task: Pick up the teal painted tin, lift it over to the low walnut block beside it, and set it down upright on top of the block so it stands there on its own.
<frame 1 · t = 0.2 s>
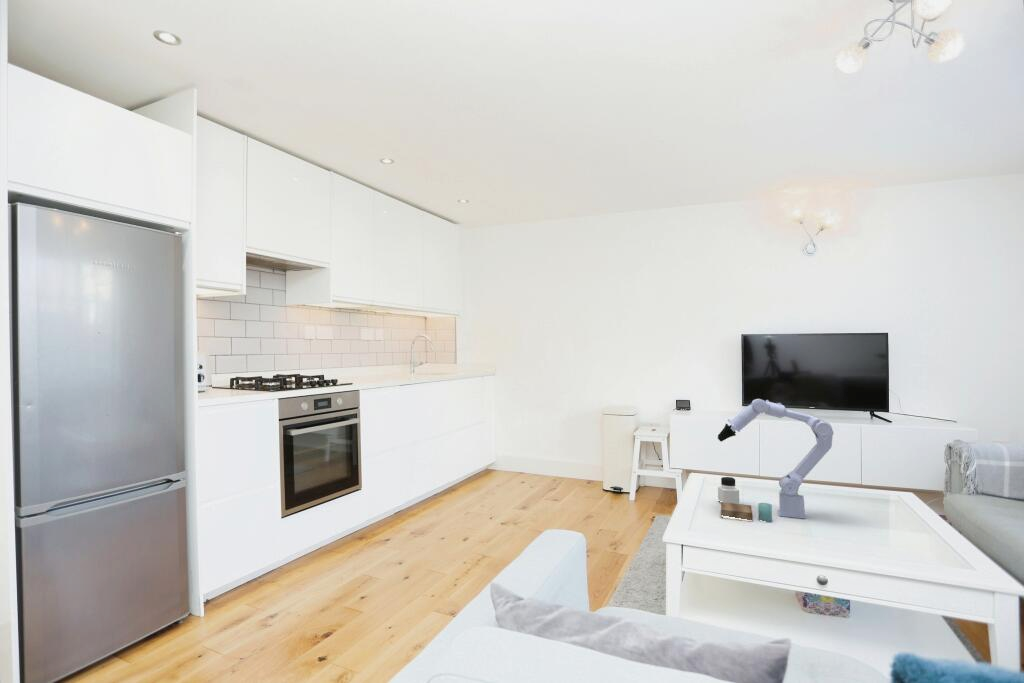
hand: (719, 438, 232), 31 cm above the table, tool tilted 45°, fingers open, 7 cm apart
walnut block: (736, 516, 220), on the table
medicine bottle: (728, 503, 239), on the table
teal tin: (765, 520, 214), on the table
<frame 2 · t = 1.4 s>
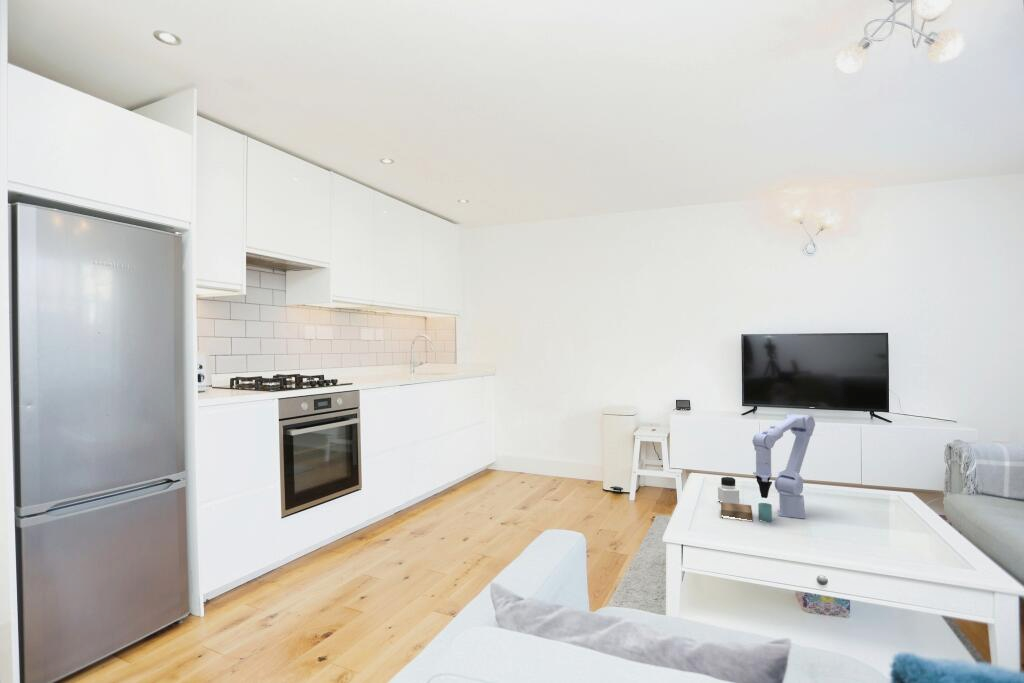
hand: (763, 495, 214), 10 cm above the table, tool pointing down, fingers open, 7 cm apart
nothing on the table moved.
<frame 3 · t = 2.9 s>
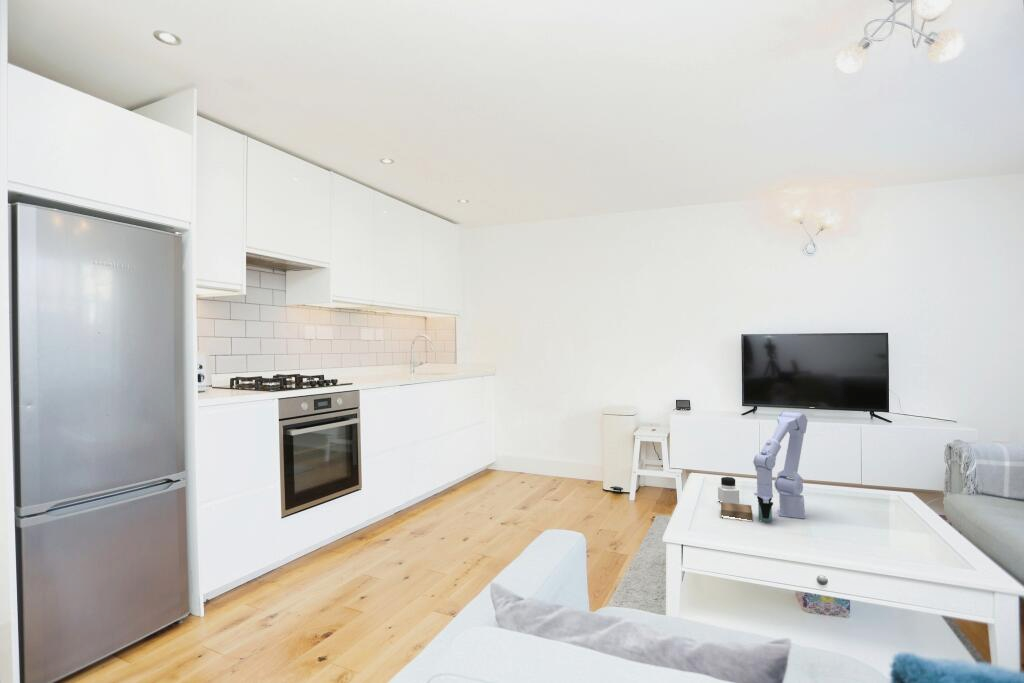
hand: (765, 516, 214), 2 cm above the table, tool pointing down, fingers closed on teal tin, 5 cm apart
teal tin: (765, 520, 214), on the table, touching gripper
everything else where it was.
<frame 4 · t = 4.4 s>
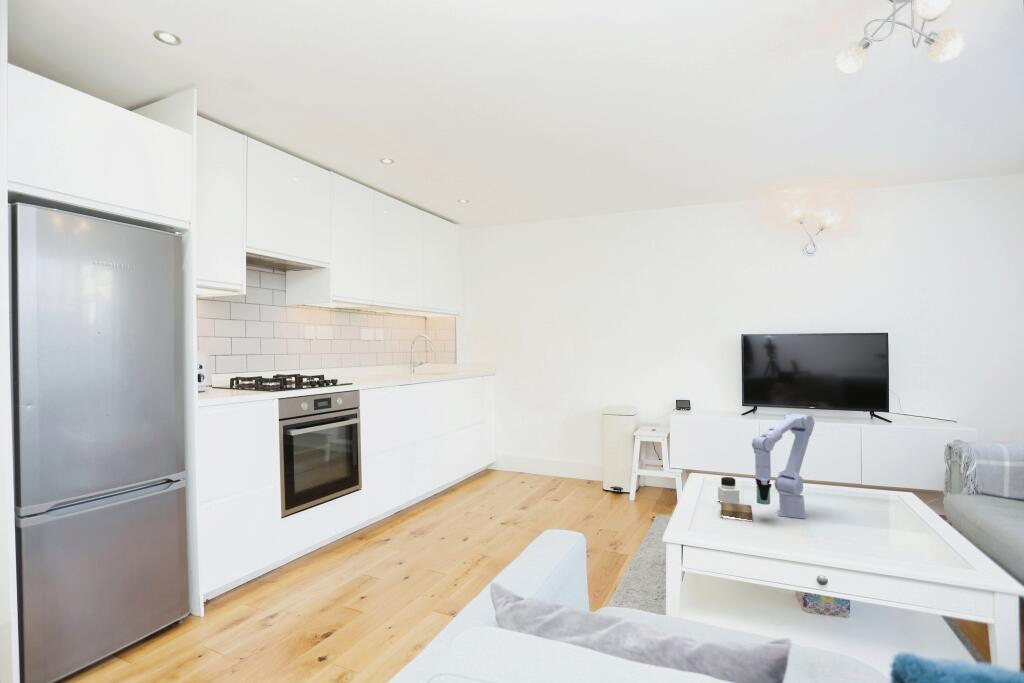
hand: (763, 498, 215), 9 cm above the table, tool pointing down, fingers closed on teal tin, 5 cm apart
teal tin: (763, 502, 215), point 7 cm above the table, touching gripper
everything else where it was.
when the fingers open (7 cm above the table, at t = 6.1 s): teal tin drops 2 cm, point 3 cm above the table.
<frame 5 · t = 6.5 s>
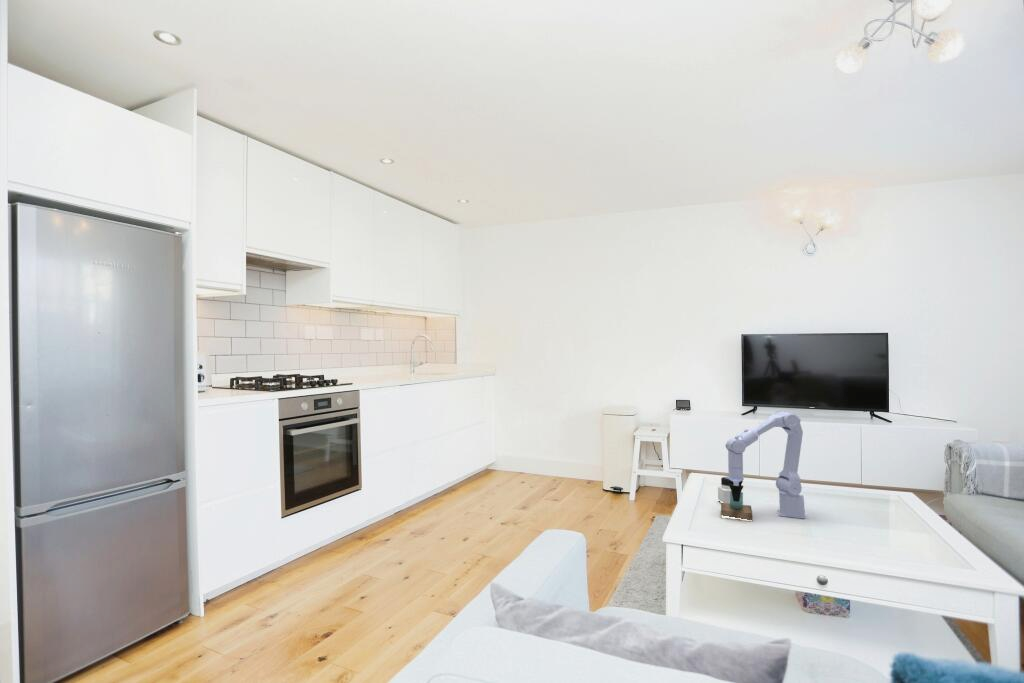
hand: (736, 499, 220), 7 cm above the table, tool pointing down, fingers open, 7 cm apart
teal tin: (736, 507, 220), point 3 cm above the table
everything else where it was.
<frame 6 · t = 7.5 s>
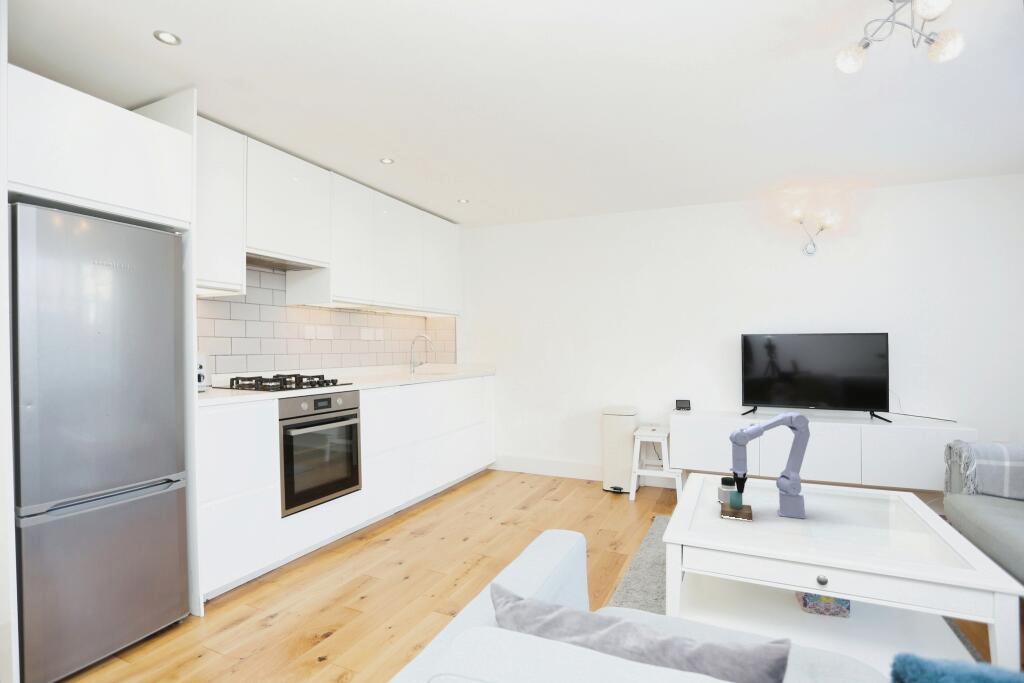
hand: (740, 490, 222), 10 cm above the table, tool pointing down, fingers open, 7 cm apart
walnut block: (736, 517, 220), on the table, touching teal tin
teal tin: (736, 507, 220), point 3 cm above the table, touching walnut block
everything else where it was.
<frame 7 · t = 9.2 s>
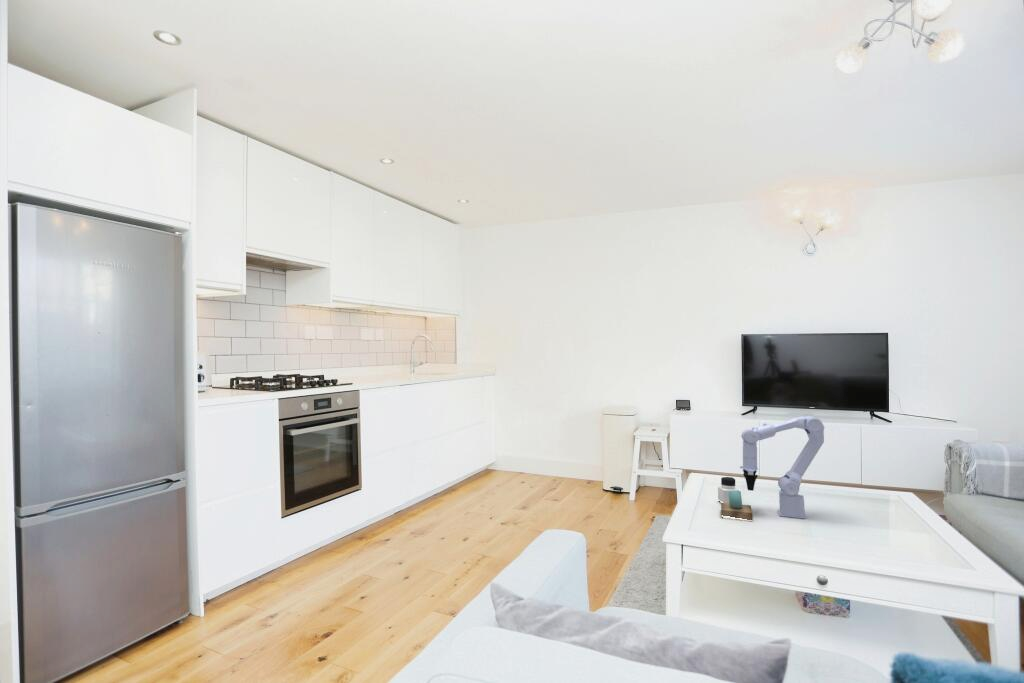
hand: (750, 488, 226), 10 cm above the table, tool pointing down, fingers open, 7 cm apart
teal tin: (736, 507, 220), point 4 cm above the table, tilted 5°, touching walnut block
everything else where it was.
at the end: teal tin inside the target area on the walnut block (0.1 cm from its centre), point 4.2 cm above the walnut block's base; teal tin tilted 5°; the gripper is holding nothing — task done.
